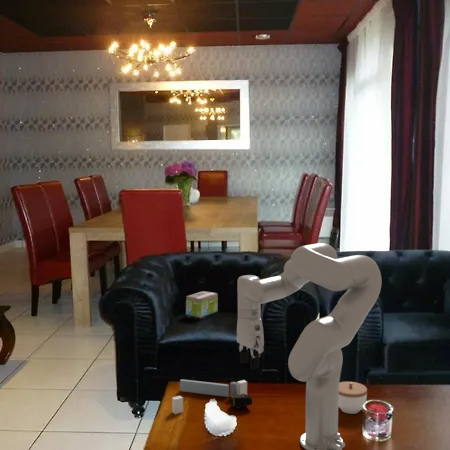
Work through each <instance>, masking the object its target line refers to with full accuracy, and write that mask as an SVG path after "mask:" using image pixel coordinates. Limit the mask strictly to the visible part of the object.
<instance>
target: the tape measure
mask: <svg viewBox="0 0 450 450" xmlns="http://www.w3.org/2000/svg"><path fill="white" fill-rule="evenodd" d="M229 397H230V396H229ZM229 404H230V406H231V407H233V408H234V407H235V408H236V409H239V408H244V407H247V406H251V405H252V404H253V398H252V397H251V396H249V395H248V394H247V395H245V394H235V395H232V396H231V397H230V398H229Z"/></svg>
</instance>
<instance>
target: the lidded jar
mask: <svg viewBox="0 0 450 450" xmlns="http://www.w3.org/2000/svg"><path fill="white" fill-rule="evenodd" d="M367 397H368V388H367V387H366V386H365V384H362V383H359V382H355V381H341V382H340V381H339V399H338V409H340V410H341V411H342V412H343V413H345V414H348V415H349V414H351V415H354V414H358V413H360V411H362V410H363V408H362V404H363V403H364V402H366V403H367Z"/></svg>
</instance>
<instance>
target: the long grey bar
mask: <svg viewBox="0 0 450 450" xmlns="http://www.w3.org/2000/svg"><path fill="white" fill-rule="evenodd" d="M179 391H180V392H185V393H194V394H201V395H209V396H210V395H211V396H219V397H227V398H228V397H230V392H229V391H230V385H229V384H226V383H218V382H210V381H208V382H207V381H200V380H192V379H191V380H190V379H182V378H181V379H180V380H179Z"/></svg>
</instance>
